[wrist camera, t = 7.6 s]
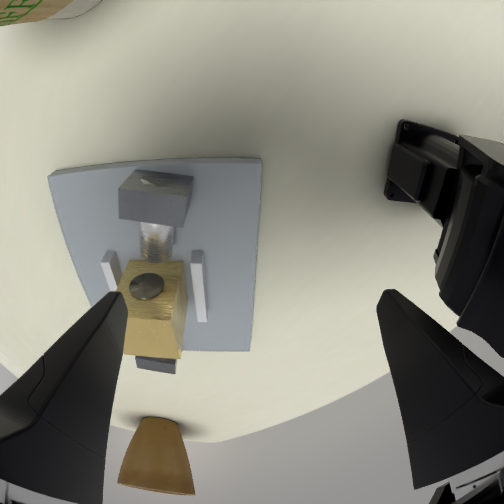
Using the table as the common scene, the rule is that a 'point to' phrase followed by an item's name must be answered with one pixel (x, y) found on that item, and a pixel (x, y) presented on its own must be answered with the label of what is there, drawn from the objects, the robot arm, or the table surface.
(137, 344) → the block
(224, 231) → the grey base plate
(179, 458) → the plant pot
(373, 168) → the table surface
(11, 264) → the table surface
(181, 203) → the shaft
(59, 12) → the coffee cup
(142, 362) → the shaft
